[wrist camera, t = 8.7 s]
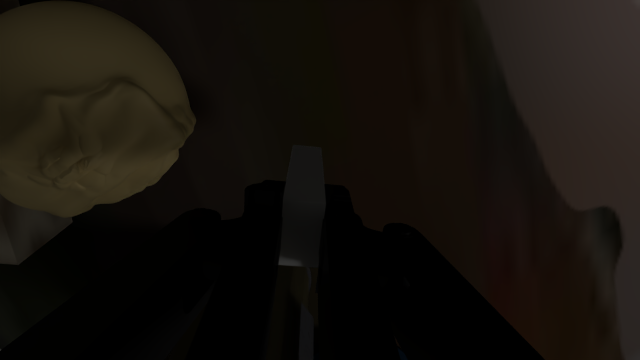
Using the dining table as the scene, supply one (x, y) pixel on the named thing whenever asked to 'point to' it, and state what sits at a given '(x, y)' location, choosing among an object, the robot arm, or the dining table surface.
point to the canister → (277, 319)
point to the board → (24, 216)
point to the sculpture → (84, 108)
